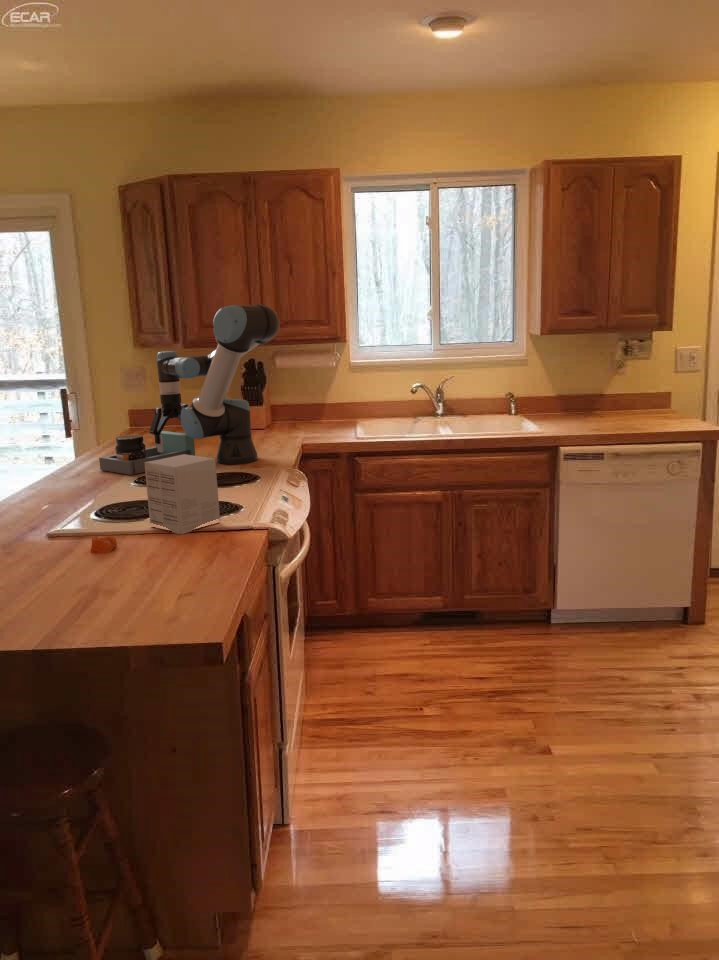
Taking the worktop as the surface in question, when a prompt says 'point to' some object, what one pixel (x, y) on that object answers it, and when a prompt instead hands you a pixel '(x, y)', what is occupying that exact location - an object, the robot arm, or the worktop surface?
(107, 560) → the worktop surface
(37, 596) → the worktop surface
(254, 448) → the robot arm
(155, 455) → the gray open tray
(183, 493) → the supplement box
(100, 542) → the rock
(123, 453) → the supplement container
